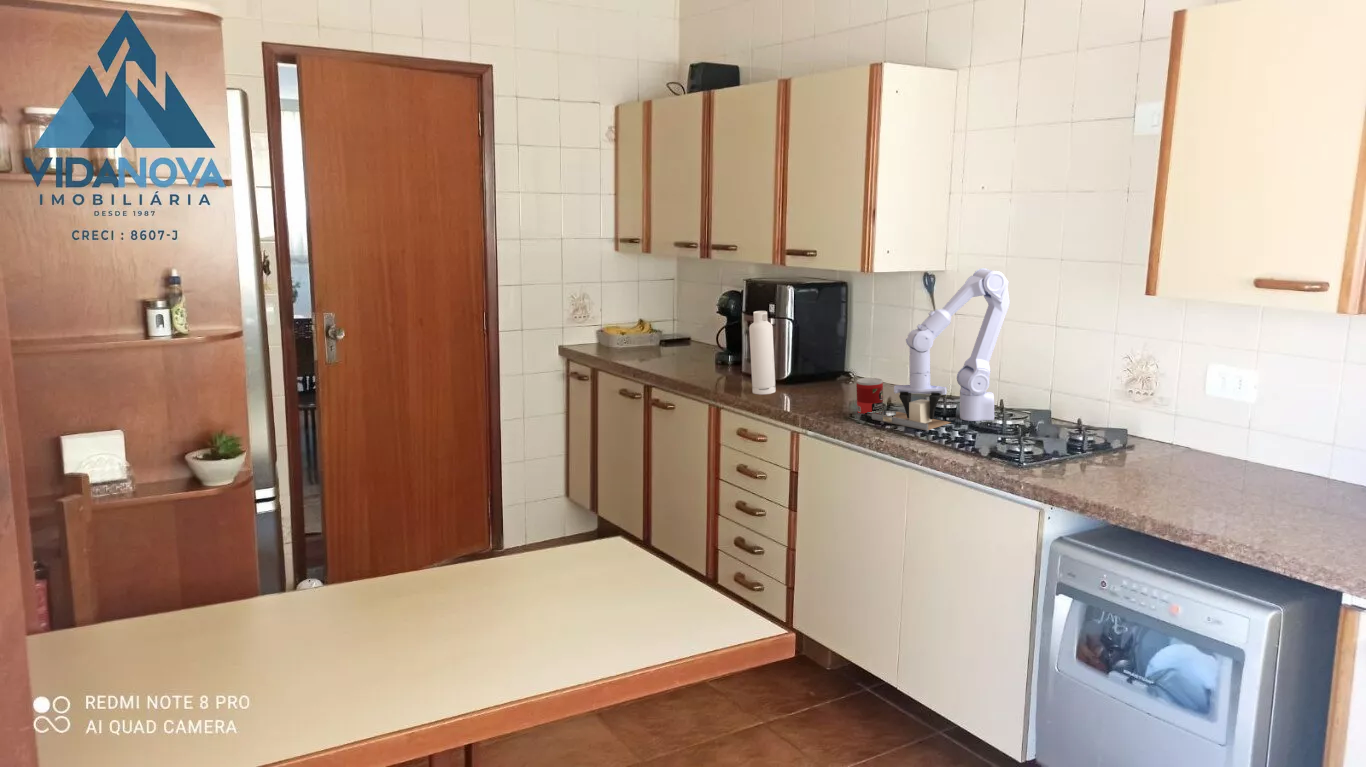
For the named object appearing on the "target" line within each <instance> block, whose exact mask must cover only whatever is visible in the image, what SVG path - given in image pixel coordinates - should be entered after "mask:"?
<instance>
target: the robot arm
mask: <svg viewBox="0 0 1366 767" xmlns="http://www.w3.org/2000/svg"><path fill="white" fill-rule="evenodd" d="M1009 283H1010V282H1009V281H1008V279H1007V277H1006V276H1005V275H1004V274H1003V272H1001V271H998V270H991V269H989V268H985V267H984V268H979V269H977V270H975V271H974V273H973V274H972V275H970V276H969V277H968V278H967V279H966V281H965V282H964V283H963V285H962V286H960V288H959V289H958V290H957V291H956V293H954V295H952V297H951V298H949V300H948V302H946V304H945V305H944V306H943V307H942V308H939V309H938V308H936V309H934V310H930V312H928V316H927V317H926V318H925V319H924V320H923V322H922V323H921V324H919V323H918V325H916V328H915V329H912V330H911V331H909V333H908V334H907V338H906V339H905V343H906V345H907V346H908V347H909V355H908V356H909V358H908V359H909V362H908V363H909V384H900V385H899V384H896V385H894V386H893V393H894V394H899V395H898V398H899V399H900V401H901V403H902V405H903V407H904V411H905V413H906V414H907V418H909V402H912V394H923V395H925V394H926V395H927V394H928V395H929V396H928V398H929V400H928V401H930V419H935V412H936V408H937V406H938V403H939V400H940V398H941V396H946V395H947V386H940V385H931V350H930V349H932V348H933V347H934V346H933V345H934V342H935V340H936V339H937V337H939V336H940V334H942V333H943V332H944V330H946V329H947V328H948V327H949V326H950V325H951V324H952V322H951V321H952V317H953V316H954V315H955V314H956V313H957V312H958V311H959V310H960V309H961V308H962V307H964V306H965V304H966V305H967V303H968V302H969V301H970V300H971V299H972V298H976V297H982V296H983V298H984V299H985V301H986V302H987V304H988V305H987V308H986V312H985V313H984V317H983V320H982V323H981V325H980V328H979V331H978V333H977V337H976V340H975V343H974V346H973V348H972V351H971V354H970V356H969V358H967V359H966V360H965V362H964V363H963V366H962V367H961V368H960V370H958V372H957V375H956V382H957V383H958V386H960V390H959V418H960V419H961V420H962V421H963V420H964V421H969V422H972V421H973V422H978V421H979V422H980V421H994V420H995V394H994V393H993V392H992V391H987V390H988V389H989V387H990V375H991V366H990V361H991V359H992V355H993V352H994V350H995V347H996V344H997V341H998V338H999V336H1000V332H1001V330H1002V327H1003V324H1004V321H1005V319H1006V316H1007V314H1008V310H1009V308H1010V303H1011V301H1010V296H1009V295H1010V294H1009V289H1008V287H1009Z"/></svg>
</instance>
